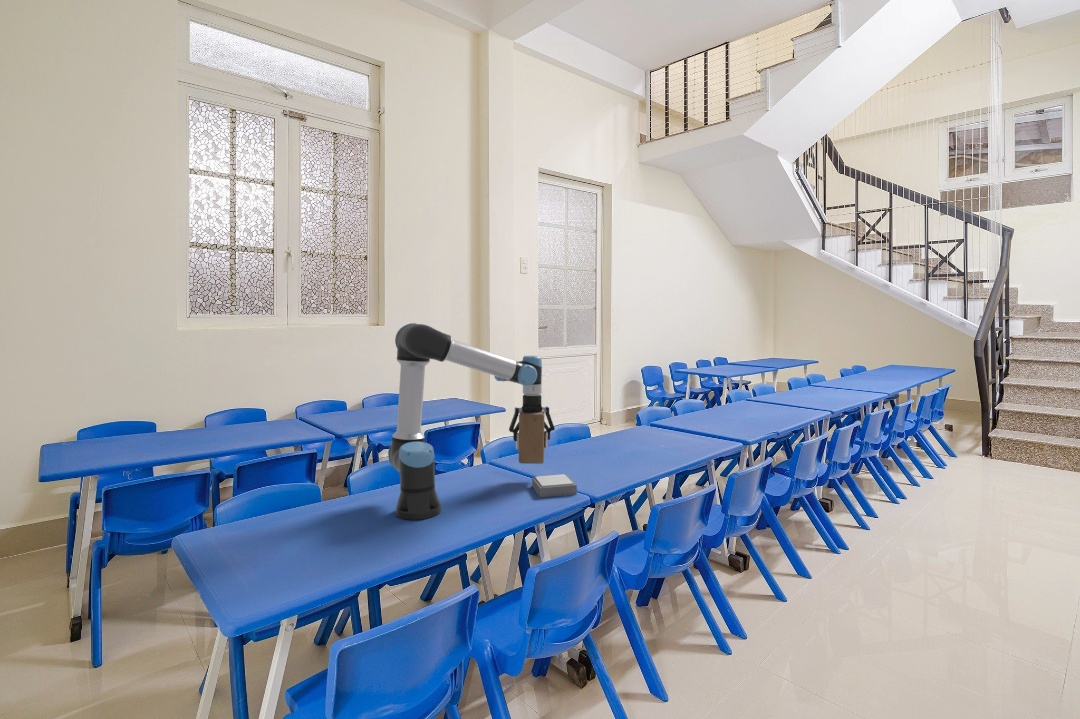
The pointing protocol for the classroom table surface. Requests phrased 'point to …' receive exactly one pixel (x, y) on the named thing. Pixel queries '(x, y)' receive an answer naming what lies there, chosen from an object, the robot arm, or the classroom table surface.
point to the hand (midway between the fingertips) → (531, 448)
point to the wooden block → (531, 437)
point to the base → (554, 485)
